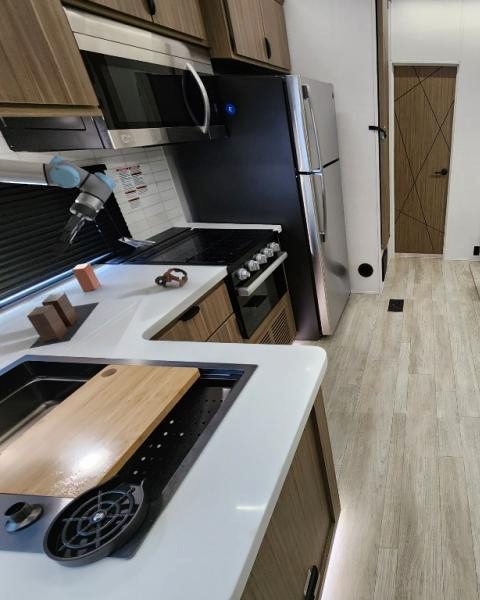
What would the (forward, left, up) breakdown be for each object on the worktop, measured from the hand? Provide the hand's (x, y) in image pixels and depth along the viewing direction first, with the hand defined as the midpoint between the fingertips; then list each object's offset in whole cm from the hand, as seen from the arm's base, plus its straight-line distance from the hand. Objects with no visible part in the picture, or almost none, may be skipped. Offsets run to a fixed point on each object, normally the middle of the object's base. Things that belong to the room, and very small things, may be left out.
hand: (55, 252), depth 127 cm
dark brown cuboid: (+21, -31, -18) cm, 41 cm away
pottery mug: (+35, +7, -18) cm, 40 cm away
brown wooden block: (+17, -23, -18) cm, 33 cm away
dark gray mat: (+17, -23, -18) cm, 34 cm away
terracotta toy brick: (+1, +5, -18) cm, 19 cm away
